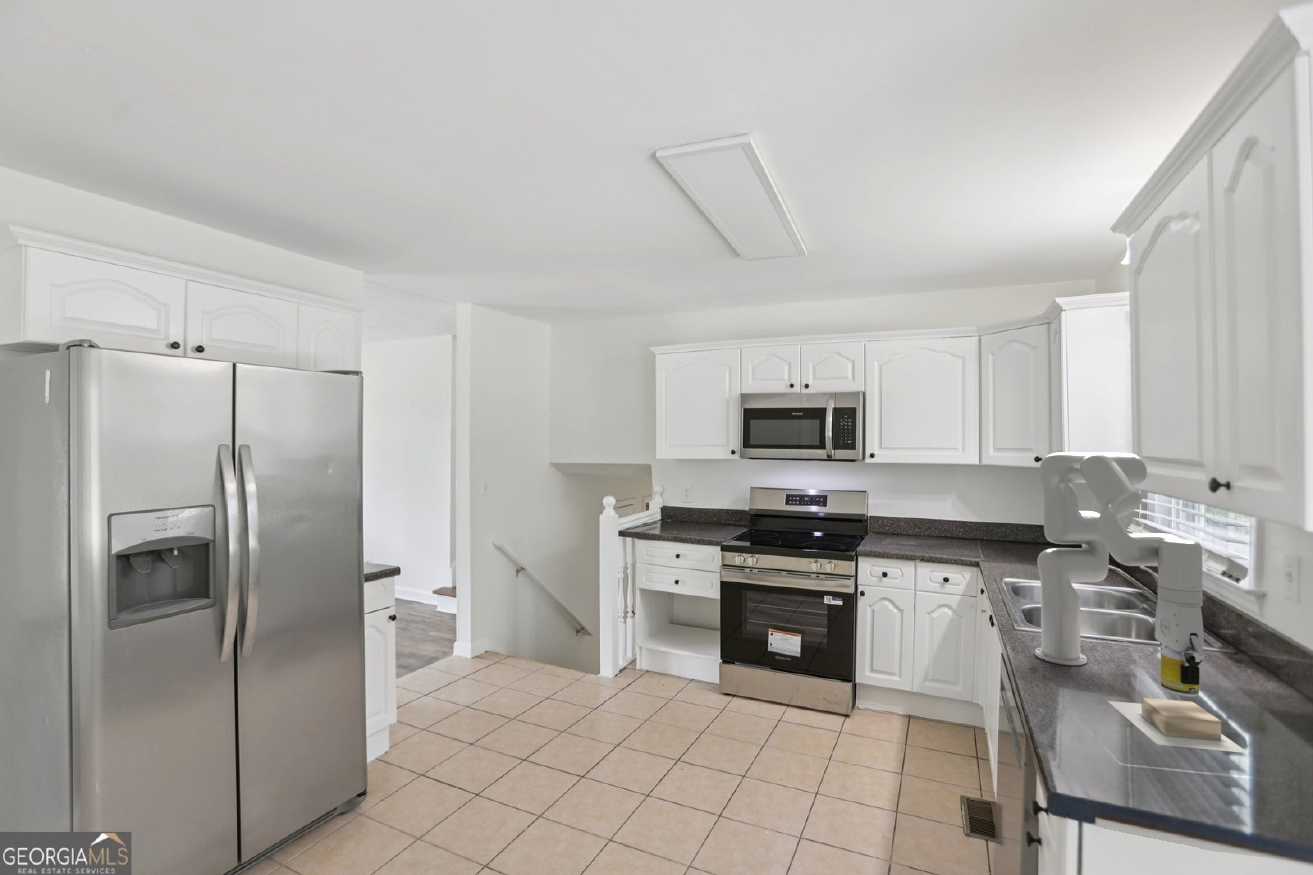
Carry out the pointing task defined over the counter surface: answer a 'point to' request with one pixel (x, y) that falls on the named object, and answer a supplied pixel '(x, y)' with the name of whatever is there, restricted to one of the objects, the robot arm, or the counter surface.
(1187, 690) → the pill bottle
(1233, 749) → the off-white paper sheet
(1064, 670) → the counter surface
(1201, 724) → the pedestal block
